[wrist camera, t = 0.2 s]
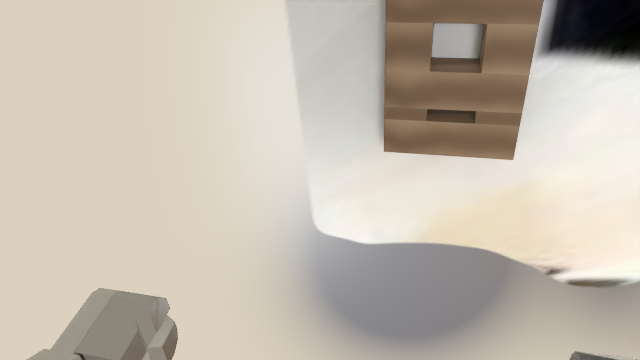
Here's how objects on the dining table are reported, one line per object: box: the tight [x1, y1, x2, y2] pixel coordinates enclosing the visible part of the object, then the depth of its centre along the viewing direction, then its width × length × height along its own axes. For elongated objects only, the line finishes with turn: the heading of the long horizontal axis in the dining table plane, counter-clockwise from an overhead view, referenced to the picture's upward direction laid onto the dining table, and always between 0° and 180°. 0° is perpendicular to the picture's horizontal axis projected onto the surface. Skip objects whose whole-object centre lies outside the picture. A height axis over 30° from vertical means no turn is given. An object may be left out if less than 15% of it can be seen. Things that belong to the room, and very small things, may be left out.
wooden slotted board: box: [384, 0, 543, 160], centre depth 54 cm, size 18×14×4 cm
